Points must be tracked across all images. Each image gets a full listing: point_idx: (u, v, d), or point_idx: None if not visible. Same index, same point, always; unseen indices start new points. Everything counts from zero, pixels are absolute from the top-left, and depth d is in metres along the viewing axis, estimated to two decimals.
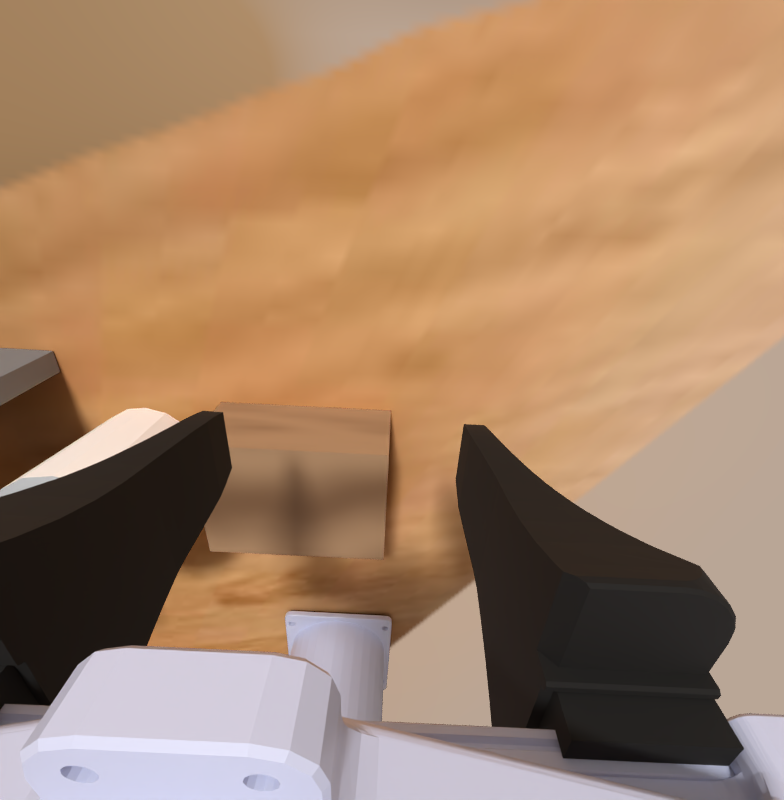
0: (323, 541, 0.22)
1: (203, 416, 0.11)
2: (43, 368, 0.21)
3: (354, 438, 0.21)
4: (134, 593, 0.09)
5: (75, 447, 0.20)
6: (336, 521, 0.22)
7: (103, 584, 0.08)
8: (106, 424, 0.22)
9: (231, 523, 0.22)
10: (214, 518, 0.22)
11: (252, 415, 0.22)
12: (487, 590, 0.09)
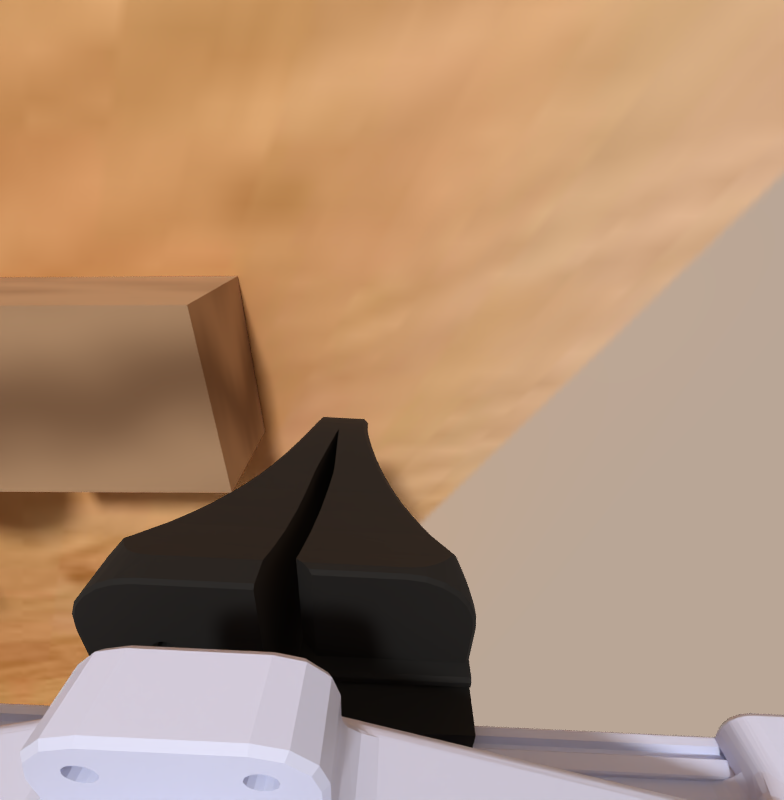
0: (135, 466, 0.15)
1: (330, 422, 0.12)
2: None
3: (151, 295, 0.13)
4: None
5: None
6: (143, 431, 0.14)
7: (296, 593, 0.08)
8: None
9: None
10: None
11: (22, 284, 0.15)
12: None
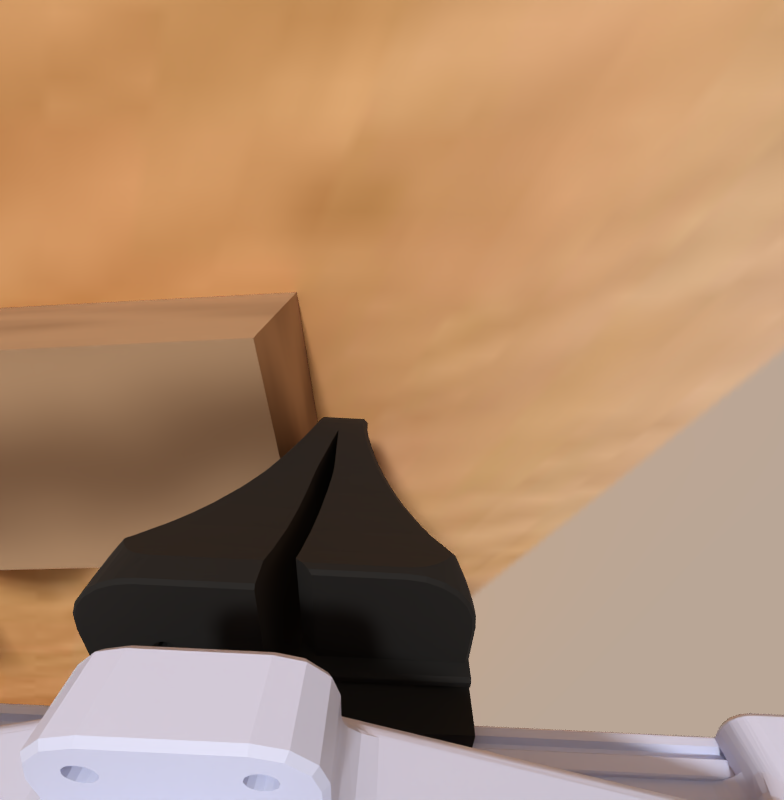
0: None
1: (330, 422, 0.12)
2: None
3: (201, 324, 0.10)
4: None
5: None
6: (194, 495, 0.11)
7: (297, 593, 0.08)
8: None
9: (8, 516, 0.12)
10: None
11: (36, 315, 0.12)
12: None
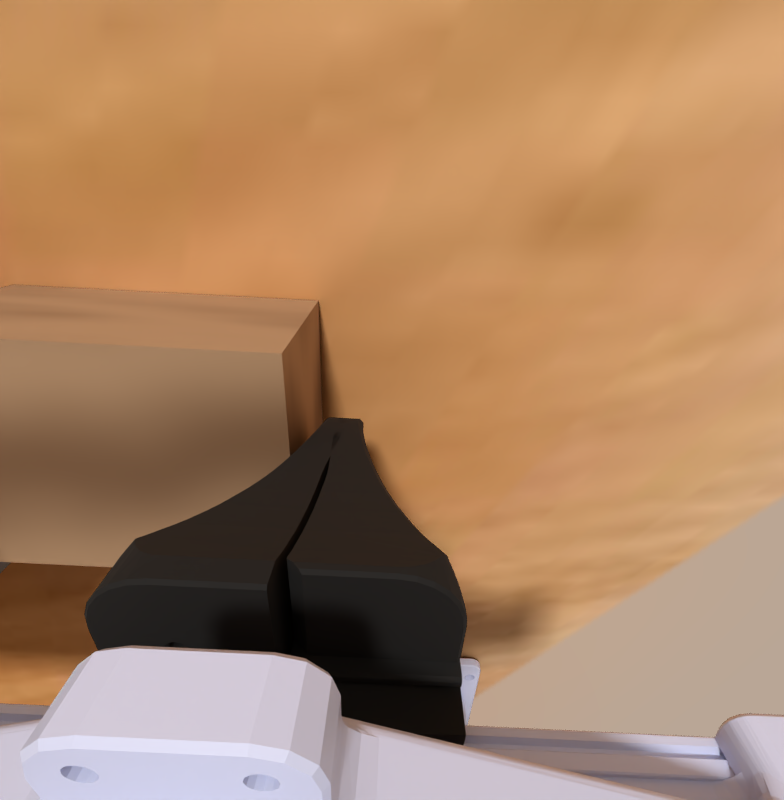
0: None
1: (335, 423, 0.12)
2: None
3: (223, 330, 0.10)
4: None
5: None
6: (197, 502, 0.11)
7: None
8: None
9: None
10: None
11: (44, 300, 0.12)
12: None
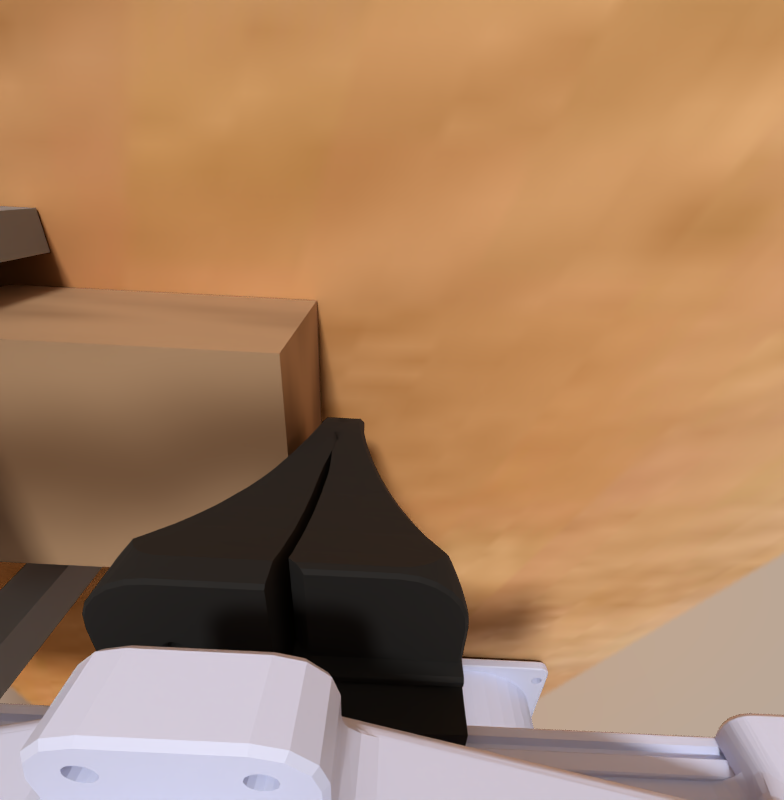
0: None
1: (334, 423, 0.12)
2: (17, 234, 0.11)
3: (221, 330, 0.10)
4: None
5: None
6: (195, 502, 0.11)
7: None
8: None
9: None
10: None
11: (43, 300, 0.12)
12: None
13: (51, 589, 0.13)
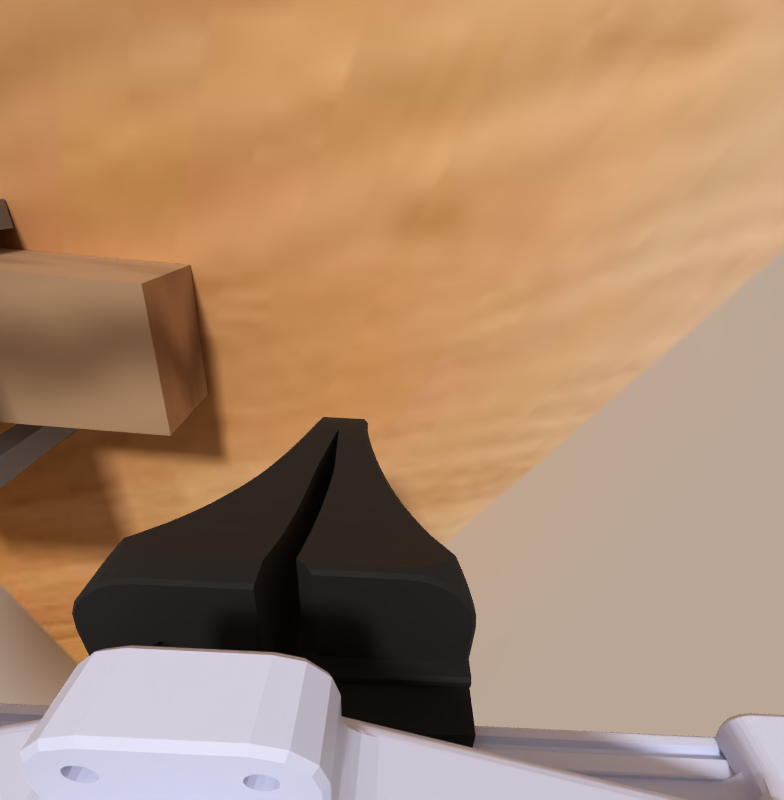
0: (93, 408, 0.19)
1: (330, 422, 0.12)
2: None
3: (116, 273, 0.17)
4: None
5: None
6: (101, 379, 0.18)
7: (296, 593, 0.08)
8: None
9: None
10: None
11: (12, 254, 0.19)
12: None
13: (12, 450, 0.20)
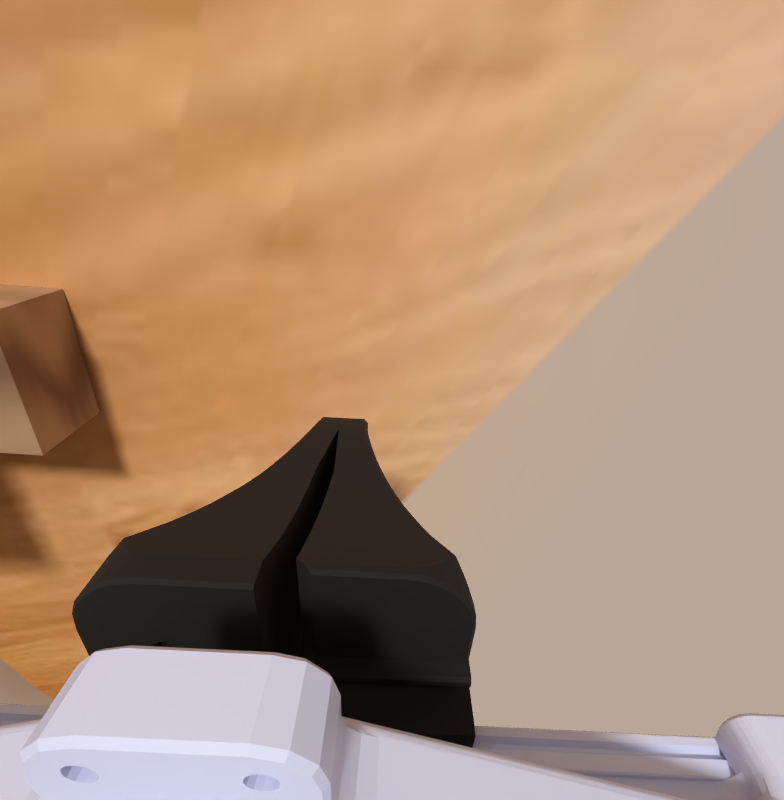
0: None
1: (330, 422, 0.12)
2: None
3: None
4: None
5: None
6: None
7: (296, 593, 0.08)
8: None
9: None
10: None
11: None
12: None
13: None
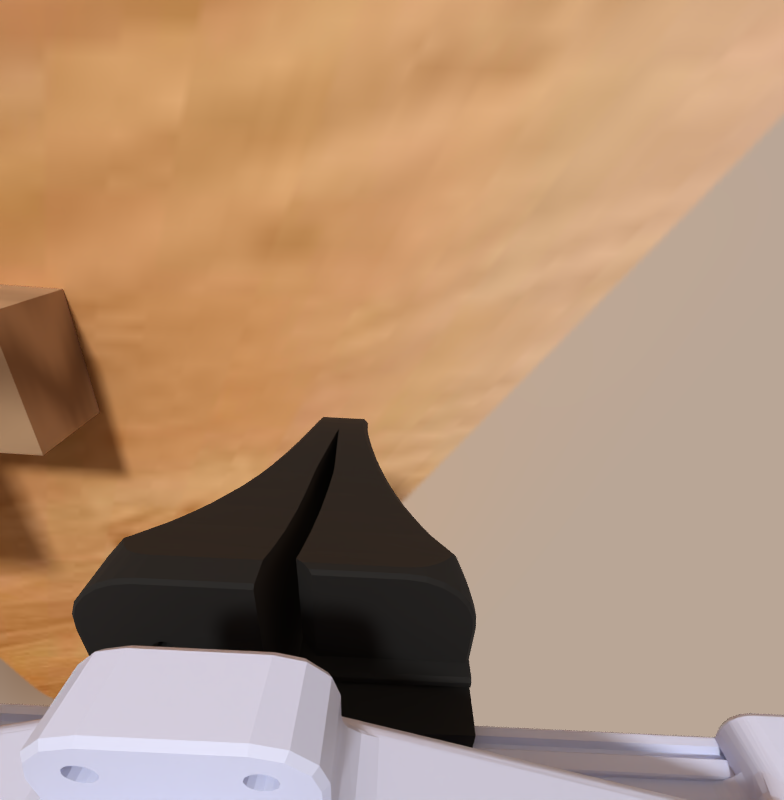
0: None
1: (330, 422, 0.12)
2: None
3: None
4: None
5: None
6: None
7: (296, 593, 0.08)
8: None
9: None
10: None
11: None
12: None
13: None
